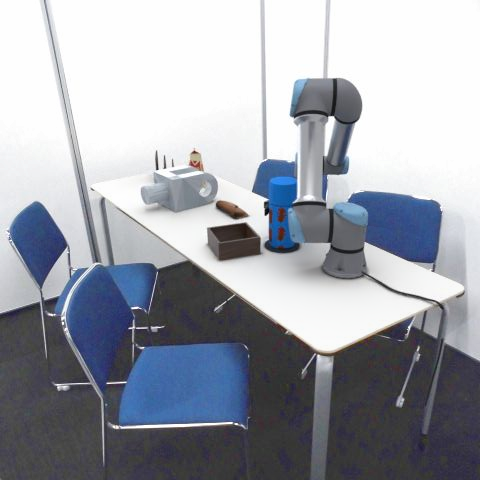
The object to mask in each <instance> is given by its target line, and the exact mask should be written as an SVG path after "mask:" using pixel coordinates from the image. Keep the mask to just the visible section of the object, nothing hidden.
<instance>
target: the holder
mask: <svg viewBox="0 0 480 480" xmlns="http://www.w3.org/2000/svg"><path fill="white" fill-rule="evenodd" d="M206 233H207V235H206V236H207V245H208V246H209V248H210V249H211V250H212V253H214V255H215V257H216V258H217V259H218V261H225V260H232V259H239V258H244V257H245V258H246V257H251V256H256V255H257V256H258V255H261V254H262V252H261V250H262V245H261V244H262V242H261V241H262V237H261V236H260V235H259V234H258V233H257V231H256V230H255V229H253V227H252V226H251V225H250V224H249V222H247V221H245V222H238V223H237V222H236V223H230V224H223V225H216V226H209V227H208V226H207V227H206Z"/></svg>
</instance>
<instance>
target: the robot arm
mask: <svg viewBox="0 0 480 480" xmlns="http://www.w3.org/2000/svg"><path fill="white" fill-rule="evenodd" d="M362 112H363V100H362V96H361V93H360V91H359V90H358V88H357V87H356V85H355V84H354V83H352V82H351V81H350V80H348V79H346V78H342V77H333V78H332V77H326V78H325V77H319V78H318V77H317V78H316V77H315V78H314V77H312V78H310V77H307V78H298V79H296V80H295V81H294V83H293V88H292V94H291V102H290V108H289V117H290V118H293V124H294V125H295V126H296V127H297V151H296V152H295V157H294V176H293V178H296V179H297V198H296V200H295V201H294V202H293V203H292V208H290V209H288V223H289V231H290V237H291V240H292V241H293V242H296V243H299V244H304V245H305V244H329V249H328V251H327V253H325V259H324V260H323V265H322V269H323V271H324V272H325V274H327V275H329V276H331V277H334V278H338V279H357V278H360V277H362V276H366V277H368V278H369V279H371V280H373V281H375V282H377V283H378V284H380V285H381V286H383V287H385V288H386V289H388V290H389V291H392V292H394V293H397V294H400V295H404V296H409V297H414V298H417V299H421V300H424V301H428V302H432V303H435V304H437V305H438V306H439V307H440V308H441V309H442V310H445V307H444V305H442V303H441V302H439V301H438V300H436V299H432V298H428V297H425V296H422V295H417V294H413V293H408V292H403V291H400V290H397V289H394V288H392V287H390V286H389V285H387V284H385V283H383V282H382V281H381V280H379V279H377V278H376V277H374V276H372V275H370V274H368V273H366V272H367V267H368V265H367V260H366V255H365V244H366V236H367V228H368V225H369V224H368V223H369V213H368V210H367V209H366V208H365V207H363V206H361V205H360V204H356V203H352V202H347V201H346V202H345V201H340V202H336V203H335V204H333V206H332V208H328V207H327V201H325V200H324V198H323V176H326V175H327V176H340V175H347V174H348V172H349V169H350V157H349V156H348V152H349V148H350V145H351V141H352V137H353V133H354V130H355V126H356V123H358V121H360V119H361V116H362ZM329 117H333V119H334V122H333V124H332V130H331V135H330V139H329V144H328V149H327V154H326V155H324V128H325V126H326V124H328V122H329ZM263 209H264V213H263V214H264V217H267V216H269V199H267V200H265V201H264V202H263ZM443 345H444V338H443V337H442V338H440V345H439V350H438V354H437V358H436V362H435V365H434V369H433V372H432V376H431V379H430V382H429V386H428V390H427V394H426V397H425V402H424V407H427V405H428V401H429V397H430V394H431V390H432V387H433V383H434V380H435V376H436V373H437V370H438V365H439V363H440V359H441V354H442V350H443Z"/></svg>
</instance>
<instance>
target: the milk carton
mask: <svg viewBox="0 0 480 480" xmlns="http://www.w3.org/2000/svg"><path fill="white" fill-rule="evenodd" d="M188 165H189V166H192V167H195V168H197V169H198V170H199V171H205V168H204V163H203V159H202V154H201V153H200V152H199V151H197V149H196V148H195V147H193V150H192V151H191V152H190V153H189V159H188ZM202 188H206V184H205V181H204V182H203V186H202Z"/></svg>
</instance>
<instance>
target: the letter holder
mask: <svg viewBox="0 0 480 480" xmlns="http://www.w3.org/2000/svg"><path fill="white" fill-rule="evenodd" d="M154 157H155V158H154V160H155V161H154V162H155V163H154V164H155V171H157V170H160V168H159V156H158V150H155V155H154ZM172 167H175V163H174V158H172V159H171V168H172ZM163 169H167V160H166V155H165V154H163Z"/></svg>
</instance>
